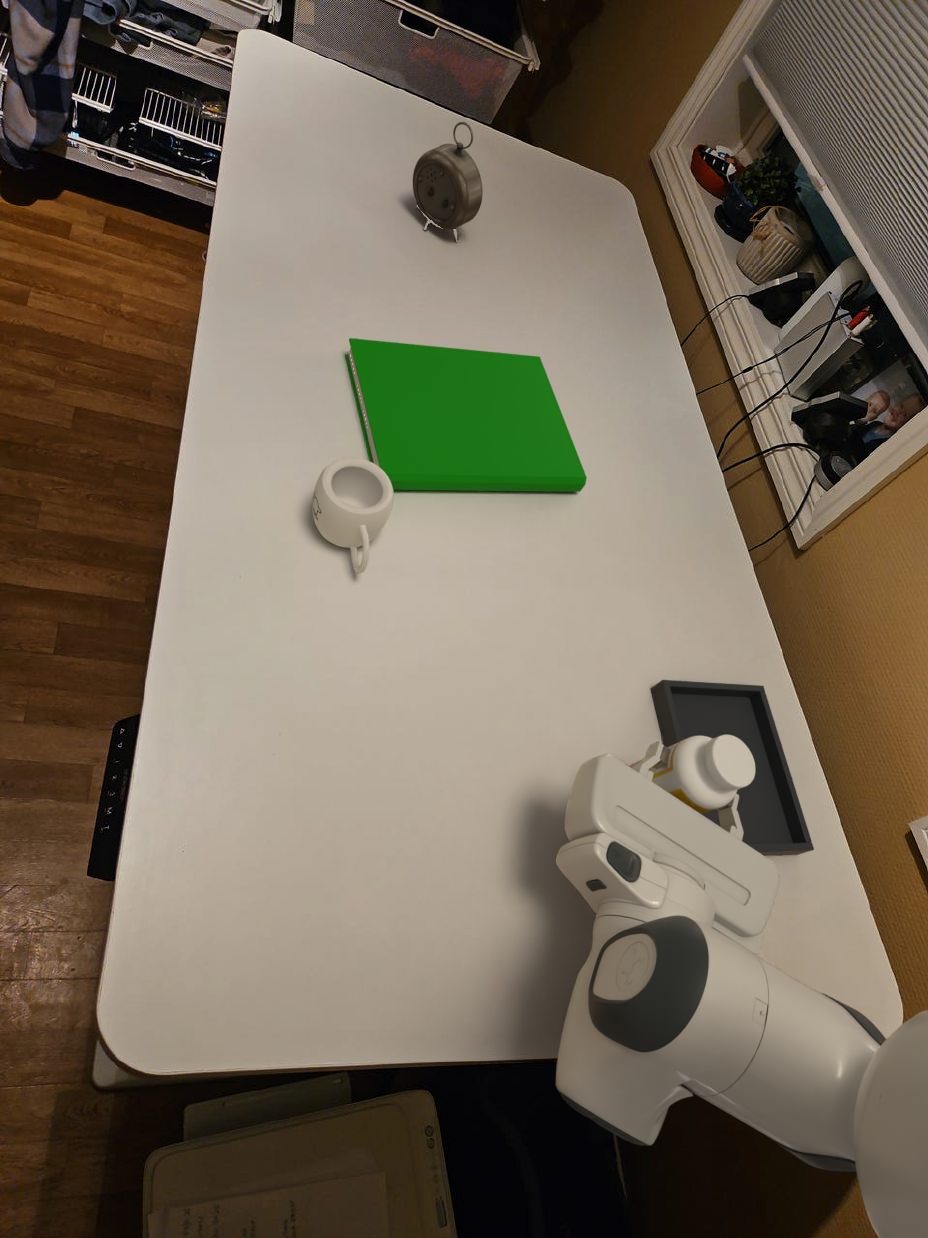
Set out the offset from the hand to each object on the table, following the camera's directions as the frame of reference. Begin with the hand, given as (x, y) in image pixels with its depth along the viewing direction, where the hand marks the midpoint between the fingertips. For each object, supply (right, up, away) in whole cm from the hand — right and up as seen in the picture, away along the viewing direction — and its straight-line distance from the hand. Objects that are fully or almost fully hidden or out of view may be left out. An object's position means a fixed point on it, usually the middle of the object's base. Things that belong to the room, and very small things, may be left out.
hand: (693, 769), depth 67 cm
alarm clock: (-27, +77, +48) cm, 95 cm away
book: (-22, +40, +29) cm, 54 cm away
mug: (-35, +23, +14) cm, 44 cm away
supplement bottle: (-3, -4, +5) cm, 7 cm away
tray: (+8, -3, +16) cm, 18 cm away
